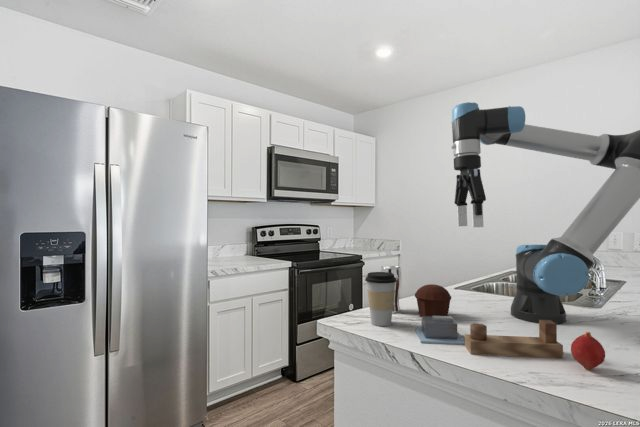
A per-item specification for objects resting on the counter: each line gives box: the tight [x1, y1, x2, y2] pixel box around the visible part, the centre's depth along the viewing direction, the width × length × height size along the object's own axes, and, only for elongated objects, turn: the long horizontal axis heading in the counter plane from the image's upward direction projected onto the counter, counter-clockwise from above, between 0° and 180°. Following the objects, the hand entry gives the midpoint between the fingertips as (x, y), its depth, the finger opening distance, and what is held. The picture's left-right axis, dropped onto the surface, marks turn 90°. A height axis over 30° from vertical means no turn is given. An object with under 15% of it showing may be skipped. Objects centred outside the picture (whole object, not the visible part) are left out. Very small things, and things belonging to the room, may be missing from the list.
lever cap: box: [421, 315, 458, 340], centre depth 95 cm, size 8×6×5 cm
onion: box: [570, 331, 606, 371], centre depth 74 cm, size 6×6×8 cm
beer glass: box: [380, 265, 402, 314], centre depth 121 cm, size 7×7×15 cm
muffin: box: [414, 283, 453, 318], centre depth 114 cm, size 12×11×10 cm
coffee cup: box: [364, 271, 396, 327], centre depth 107 cm, size 9×9×15 cm
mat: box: [414, 327, 465, 346], centre depth 95 cm, size 11×11×1 cm
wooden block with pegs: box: [464, 320, 564, 359], centre depth 84 cm, size 20×5×8 cm, turn 82°
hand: (469, 226), depth 105 cm, fingers open, 13 cm apart
